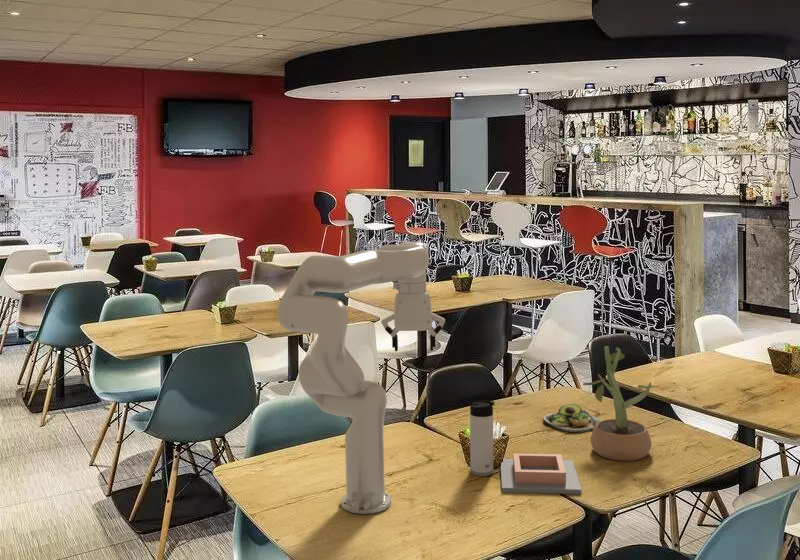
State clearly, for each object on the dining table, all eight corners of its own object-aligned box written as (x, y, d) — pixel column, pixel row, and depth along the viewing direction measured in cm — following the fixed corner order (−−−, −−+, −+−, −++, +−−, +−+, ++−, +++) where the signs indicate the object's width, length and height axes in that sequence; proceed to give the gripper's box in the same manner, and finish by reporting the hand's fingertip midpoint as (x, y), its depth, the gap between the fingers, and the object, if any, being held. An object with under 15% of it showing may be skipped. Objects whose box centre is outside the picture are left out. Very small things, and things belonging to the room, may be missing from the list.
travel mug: (493, 477, 211) (493, 405, 208) (469, 475, 212) (468, 404, 209) (495, 468, 217) (495, 398, 214) (471, 467, 218) (471, 397, 215)
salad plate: (619, 429, 248) (619, 415, 247) (575, 439, 240) (575, 424, 239) (578, 412, 265) (578, 399, 264) (535, 421, 257) (536, 408, 256)
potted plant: (666, 456, 223) (669, 354, 219) (615, 467, 216) (617, 361, 212) (616, 432, 244) (618, 338, 239) (567, 441, 237) (568, 344, 233)
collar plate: (581, 494, 199) (581, 478, 198) (502, 492, 201) (502, 476, 201) (572, 464, 219) (572, 450, 218) (500, 462, 221) (500, 448, 220)
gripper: (379, 291, 207) (381, 353, 210) (444, 289, 206) (446, 352, 209) (381, 286, 215) (383, 347, 217) (444, 285, 214) (445, 346, 216)
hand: (414, 349), depth 213 cm, fingers open, 9 cm apart
